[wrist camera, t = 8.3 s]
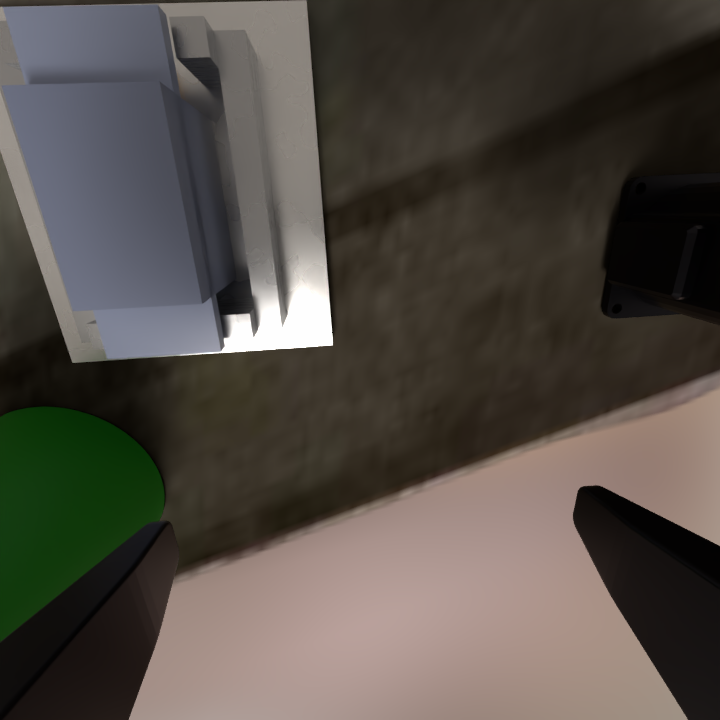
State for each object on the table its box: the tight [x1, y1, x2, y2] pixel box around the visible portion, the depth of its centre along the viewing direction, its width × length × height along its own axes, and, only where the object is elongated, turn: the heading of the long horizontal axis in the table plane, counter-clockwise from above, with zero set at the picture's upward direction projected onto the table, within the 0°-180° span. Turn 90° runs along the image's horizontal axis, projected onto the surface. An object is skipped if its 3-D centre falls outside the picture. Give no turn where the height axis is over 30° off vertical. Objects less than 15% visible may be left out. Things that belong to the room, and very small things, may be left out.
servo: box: [1, 4, 237, 359], centre depth 14 cm, size 4×10×5 cm, turn 2°
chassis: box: [0, 0, 333, 363], centre depth 15 cm, size 12×13×4 cm
